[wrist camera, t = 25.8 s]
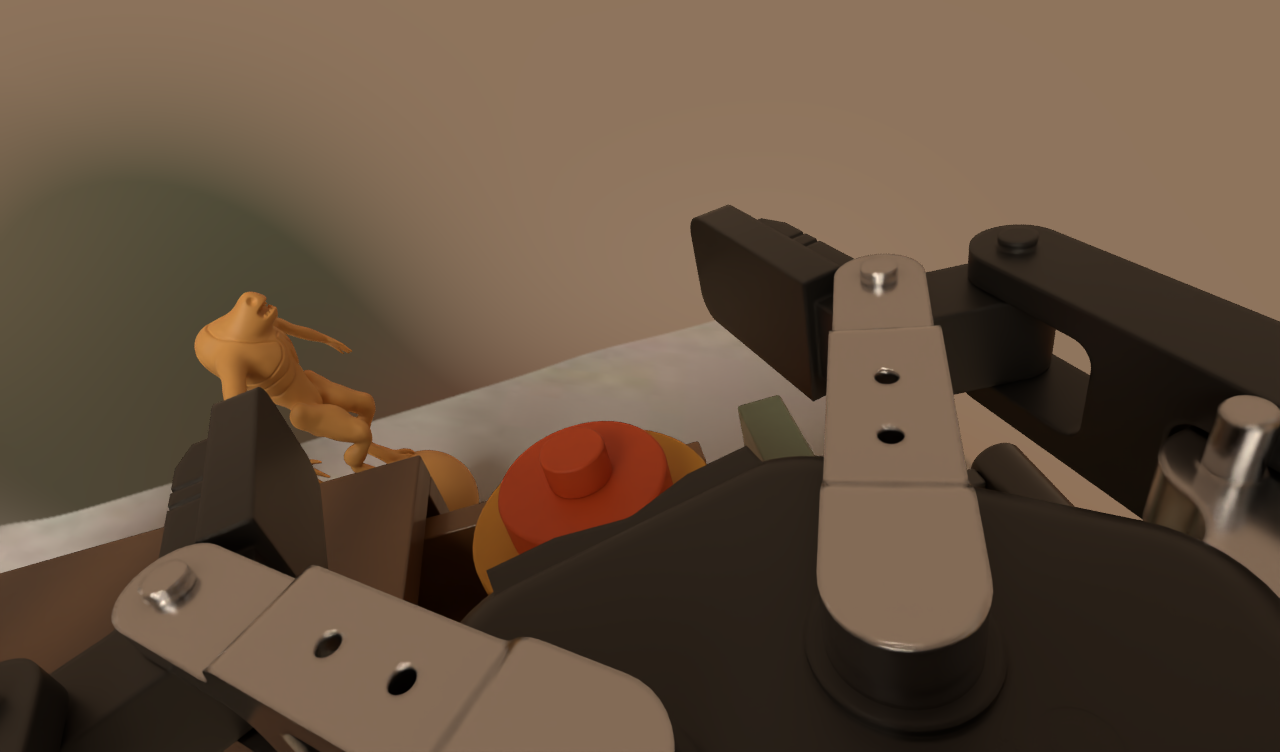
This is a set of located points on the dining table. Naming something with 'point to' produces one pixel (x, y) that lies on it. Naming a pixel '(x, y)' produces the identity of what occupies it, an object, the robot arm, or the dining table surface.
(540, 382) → the dining table surface
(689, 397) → the dining table surface
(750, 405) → the drawer
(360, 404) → the figurine
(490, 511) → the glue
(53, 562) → the cabinet
